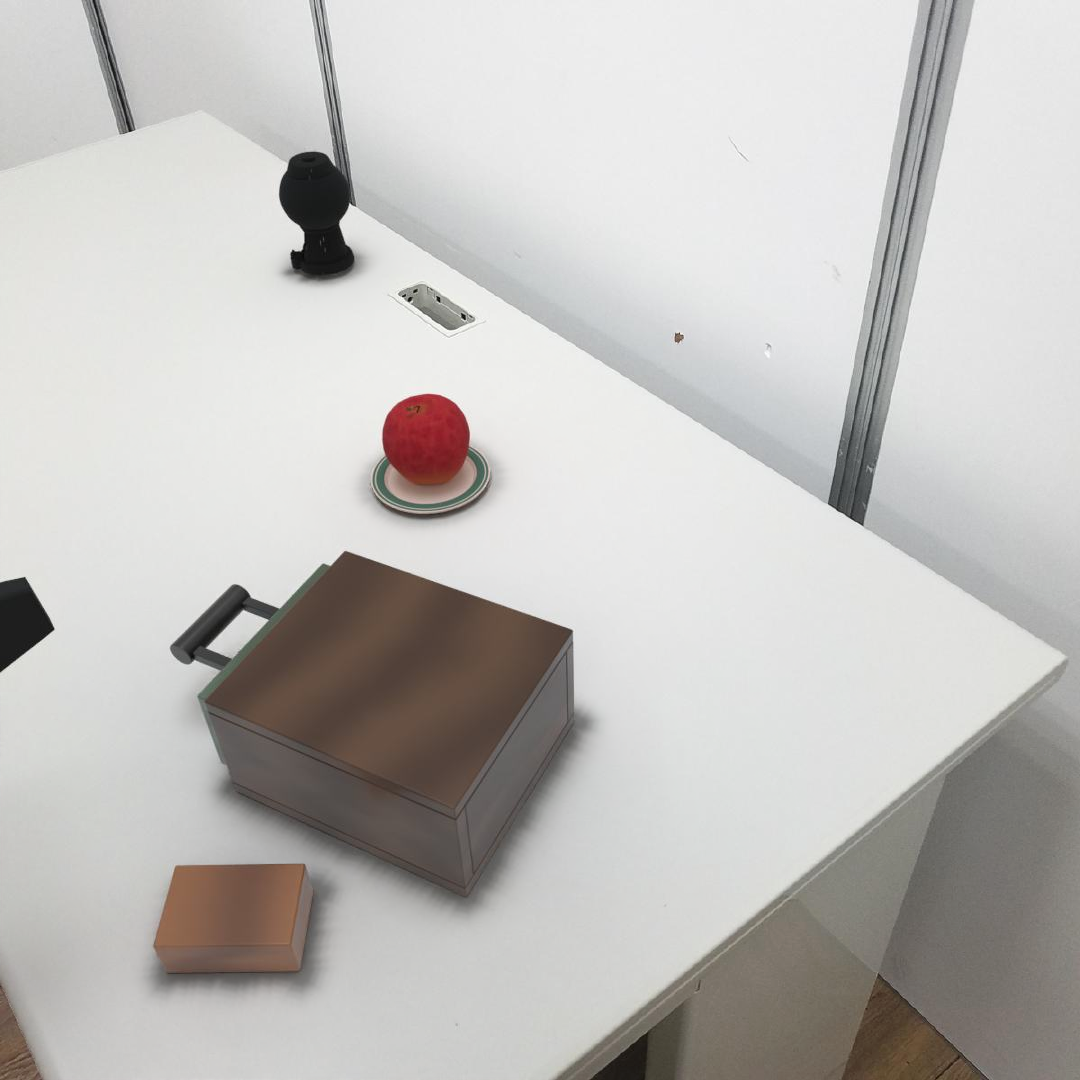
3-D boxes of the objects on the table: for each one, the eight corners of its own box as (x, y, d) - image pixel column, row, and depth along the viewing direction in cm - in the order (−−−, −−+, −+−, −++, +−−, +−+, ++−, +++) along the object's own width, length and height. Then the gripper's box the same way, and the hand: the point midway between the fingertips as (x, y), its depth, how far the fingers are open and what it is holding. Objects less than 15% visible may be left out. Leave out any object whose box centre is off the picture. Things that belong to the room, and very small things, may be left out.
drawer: (152, 733, 58) (124, 665, 55) (274, 605, 65) (256, 538, 62) (429, 858, 52) (417, 791, 49) (530, 703, 59) (527, 635, 56)
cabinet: (235, 791, 57) (202, 700, 52) (362, 640, 64) (344, 549, 59) (466, 898, 52) (454, 809, 47) (574, 721, 59) (573, 629, 55)
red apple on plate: (364, 520, 72) (350, 439, 68) (379, 445, 78) (366, 367, 74) (487, 518, 72) (481, 436, 68) (492, 443, 78) (487, 364, 74)
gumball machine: (289, 253, 100) (267, 144, 93) (354, 243, 101) (338, 135, 94) (297, 289, 95) (275, 176, 88) (365, 278, 96) (349, 166, 90)
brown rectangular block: (166, 973, 49) (151, 946, 48) (187, 892, 52) (175, 864, 51) (300, 972, 49) (290, 944, 48) (314, 890, 52) (305, 862, 51)
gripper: (-565, 840, 26) (15, 580, 31) (-528, 506, 35) (-86, 345, 40) (-367, 972, 31) (106, 731, 35) (-380, 649, 40) (-2, 491, 45)
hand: (11, 537), depth 38 cm, fingers open, 7 cm apart
